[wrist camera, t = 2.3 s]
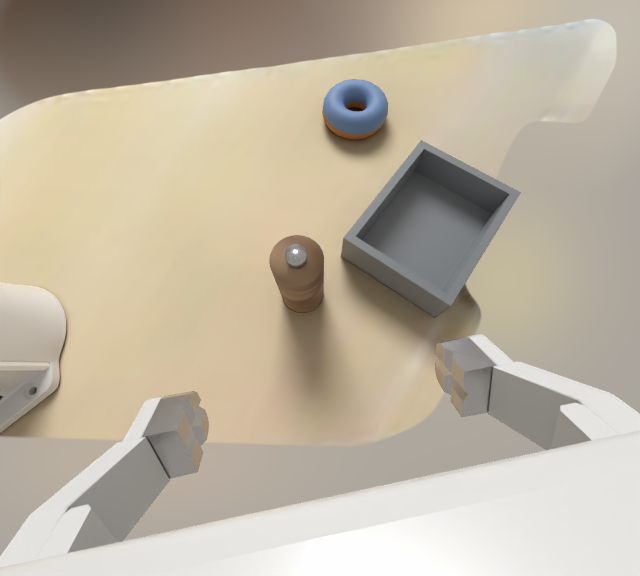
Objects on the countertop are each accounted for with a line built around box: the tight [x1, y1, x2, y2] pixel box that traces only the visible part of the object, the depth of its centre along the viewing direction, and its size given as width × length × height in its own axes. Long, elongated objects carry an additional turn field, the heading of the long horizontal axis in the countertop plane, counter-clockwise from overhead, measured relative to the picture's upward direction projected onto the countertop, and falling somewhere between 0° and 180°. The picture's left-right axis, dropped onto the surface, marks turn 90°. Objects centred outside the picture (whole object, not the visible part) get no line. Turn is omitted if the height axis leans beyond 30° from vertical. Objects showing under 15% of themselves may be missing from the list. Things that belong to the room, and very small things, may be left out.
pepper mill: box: [270, 235, 324, 313], centre depth 33 cm, size 5×5×11 cm
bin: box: [341, 140, 520, 317], centre depth 39 cm, size 18×14×5 cm
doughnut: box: [322, 79, 388, 139], centre depth 47 cm, size 10×10×5 cm
